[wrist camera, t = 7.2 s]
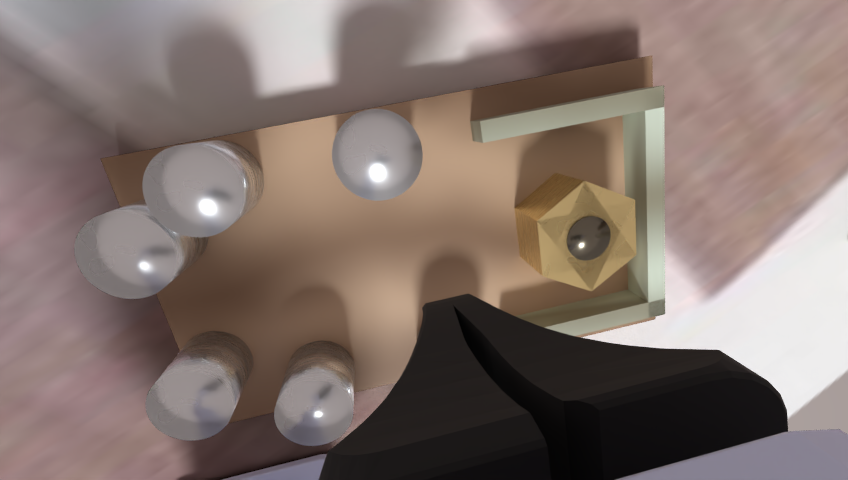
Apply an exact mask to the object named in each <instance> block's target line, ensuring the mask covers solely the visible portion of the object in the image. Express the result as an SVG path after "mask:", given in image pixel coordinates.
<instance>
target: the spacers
mask: <svg viewBox="0 0 848 480" xmlns="http://www.w3.org/2000/svg"><path fill="white" fill-rule="evenodd" d="M422 160H423V152H422V145H421V141H420V139H419V136H418V134H417V133H416V131H415V129H414V128H413V126H412V125H411V124H410V123H409V122H408V121H407V120H406V119H404V118H403V117H402V116H400V115H398V114H396V113H394V112H392V111H388V110H384V109H368V110H364V111H361V112H359V113H356V114H355V115H353V116H351V117H350V118H349V119H348V120H346V121H345V122H344V123H343V125H342V126H341V127H340V129H339V130H338V132H337V134H336V136H335V139H334V142H333V146H332V161H333V166H334V169H335V172H336V174H337V176H338V178H339V179H340V181H341V182H342V183H343V185H344V186H345V187H346V188H347V189H348V190H350V191H351V192H352V193H354V194H355V195H357V196H359V197H362V198H364V199H368V200H375V201H382V200H388V199H392V198H395V197H397V196H399V195H401V194H402V193H404V192H405V191H406V190H408V189H409V188H410V187H411V186H412V184H413V183H414V182H415V180H416V179H417V177H418V175H419V172H420V170H421V166H422ZM142 187H143V195H144V199H143V200H140V201H137V202H134V203H132V204H129V205H126V206H123V207H120V208H118V209H115V210H112V211H109V212H106V213H104V214H101V215H99V216H96V217H94V218H93V219H91V220H89V221H88V222H87V223H86V224H85V225H84V226H83V227H82V228H81V230H80V231H79V233H78V235H77V237H76V241H75V248H74V251H75V258H76V262H77V264H78V267H79V269H80V271H81V272H82V274H83V275H84V276H85V278H86V279H87V280H88V281H89V282H90V283H91V284H92V285H94V286H95V287H96V288H98V289H99V290H101V291H103V292H105V293H107V294H109V295H112V296H115V297H119V298H124V299H140V298H145V297H149V296H151V295H154V294H156V293H158V292H159V291H161V290H162V289H163V288H164V287H166V286H167V285H168V284H169V283H170V282H172V281H173V280H174V279H175V278H176V277H178V276H179V275H180V274H181V273H182V272H184V271H185V270H186V269H187V268H188V267H189V266H191V265H192V264H193V263H194V262H195V261H197V260H198V259H199V258H200V257H201V256H202V254H203V253H204V251H205V249H206V247H207V244H208V237H209V236H213V235H216V234H218V233H221V232H223V231H224V230H226V229H227V228H228V227H230V226H231V225H232V224H234V223H235V222H236V221H237V220H239V219H240V218H241V217H242V216H244V215H245V214H246V213H247V212H249V211H250V210H251V209H252V208H254V207H255V206H256V204H257V203H258V202H259V200H260V198H261V196H262V194H263V190H264V176H263V172H262V169H261V166H260V165H259V163H258V161H257V160H256V158H255V157H254V156H253V155H252V154H251V153H250V152H249V151H248V150H247V149H245V148H244V147H242V146H240V145H238V144H236V143H233V142H230V141H224V140H213V141H206V142H198V143H191V144H183V145H176V146H172V147H169V148H167V149H165V150H163V151H161V152H160V153H158V154H157V155H156V156H155V157H154V158H153V159H152V160H151V161H150V163H149V164H148V166H147V168H146V170H145V172H144V176H143V183H142ZM419 332H420V330H419ZM419 332H418V335H417V339H418V336H419ZM252 368H253V356H252V353H251V351H250V349H249V347H248V346H247V345H246V344H245V343H244V342H243V341H242V340H241V339H240V338H238V337H237V336H235V335H232V334H230V333H227V332H222V331H209V332H204V333H201V334H198V335H196V336H195V337H193V338H192V339H190V340H189V341H188V342H187V343H186V345H185V346H184V347H183V348H182V350H181V351H180V352H179V353H178V355H177V356H176V357H175V358H174V360H173V361H172V362H171V363H170V365H169V366H168V367H167V368H166V370H165V371H164V372H163V374H162V375H161V376H160V377H159V379H158V380H157V381H156V382H155V384H154V385H153V386H152V388H151V389H150V390H149V392H148V394H147V398H146V412H147V415H148V417H149V419H150V421H151V422H152V424H153V425H154V426H155V427H156V428H157V429H158V430H160V431H161V432H162V433H164V434H166V435H168V436H170V437H173V438H176V439H180V440H188V441H194V440H201V439H206V438H209V437H211V436H213V435H215V434H217V433H219V432H220V431H221V430H222V429H223V428H224V427H225V426H226V425H227V424H228V422H229V421H230V419H231V417H232V414H233V412H234V410H235V408H236V405H237V403H238V401H239V399H240V396H241V394H242V392H243V390H244V387H245V385H246V383H247V381H248V378H249V376H250V374H251V371H252ZM354 376H355V365H354V361H353V358H352V356H351V355H350V353H349V352H348V351H347V350H346V349H345V348H344V347H342V346H341V345H339V344H337V343H334V342H330V341H314V342H310V343H307V344H305V345H303V346H302V347H300V348H299V349H298V350H297V351H295V353H294V354H293V355H292V357H291V358H290V361H289V364H288V367H287V370H286V373H285V377H284V380H283V383H282V386H281V390H280V393H279V396H278V399H277V403H276V406H275V410H274V419H275V423H276V426H277V428H278V429H279V431H280V432H281V433H282V434H283V435H284V436H285V437H286V438H287V439H289V440H290V441H292V442H294V443H297V444H301V445H306V446H319V445H324V444H327V443H330V442H332V441H334V440H336V439H338V438H339V437H340V436H342V435H343V434H344V433H345V432H346V430H347V429H348V428H349V426H350V424H351V422H352V418H353V405H354Z"/></svg>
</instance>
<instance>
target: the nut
mask: <svg viewBox="0 0 848 480" xmlns="http://www.w3.org/2000/svg"><path fill="white" fill-rule="evenodd" d="M514 210H515V219H516V227H517V236H518V244H519V253H520V257H521V258H522V259H523V260H524V261H526V262H527V263H528V264H529V265H530V266H531V267H532V268H534V269H535V270H536V271H537V272H538V273H539V274H541V275H542V276H543V277H546V278H550V279H553V280H556V281H559V282H563V283H566V284H569V285H572V286H576V287H579V288H582V289H585V290H589V291H593V290H594V289H595V288H596V287H598V286H599V285H600V284H601V283H603V282H604V281H605V280H606V279H607V278H609V277H610V276H611V275H612V274H614V273H615V272H616V271H617V270H618V269H620V268H621V267H622V266H623V265H625V264H626V263H627V262H628V261H630V260H631V259H632V258H633V257H634V256H636V217H635V200H634V199H632V198H629V197H626V196H624V195H621V194H618V193H616V192H613V191H610V190H608V189H605V188H603V187H600V186H597V185H595V184H592V183H589V182H587V181H584V180H580V179H576V178H573V177H569V176H565V175H562V174H558V173H555V174H553V175H552V176H551V177H550V178H549V179H547V180H546V181H545V182H544V183H543V184H542V185H540V186H539V187H538V188H537V189H536V190H535V191H533V192H532V193H531V194H530V195H529V196H527V197H526V198H525V199H524V200H523V201H522V202H520V203H519V204H518V205H517V206H516V207H515V208H514Z"/></svg>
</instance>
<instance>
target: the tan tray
mask: <svg viewBox="0 0 848 480" xmlns="http://www.w3.org/2000/svg"><path fill="white" fill-rule="evenodd" d="M369 109H384V110H388V111H392V112H394V113H396V114H398V115H400V116H402V117H403V118H404V119H406V120H407V121H408V122H409V123H410V124H411V125H412V126H413V128H414V129H415V131H416V133H417V134H418V136H419V139H420V141H421V145H422V152H423V160H422V166H421V170H420V172H419V175H418V177H417V179H416V180H415V182H414V183H413V184H412V186H411V187H410V188H409V189H408V190H406V191H405V192H404V193H402V194H401V195H399V196H397V197H395V198H392V199H388V200H382V201H375V200H368V199H364V198H362V197H359V196H357V195H355V194H354V193H352V192H351V191H350V190H348V189H347V188H346V187H345V186H344V185H343V183H342V182H341V181H340V179H339V178H338V176H337V174H336V172H335V169H334V166H333V161H332V146H333V142H334V139H335V136H336V134H337V132H338V130H339V129H340V127H341V126H342V125H343V123H344V122H345V121H346V120H348V119H349V118H350V117H351V116H353V115H355V114H356V113H359V112H361V111H364V110H368V109H363V110H358V111H353V112H347V113H342V114H337V115H331V116H326V117H320V118H315V119H310V120H304V121H299V122H294V123H288V124H283V125H278V126H272V127H267V128H262V129H256V130H251V131H246V132H240V133H235V134H230V135H224V136H219V137H213V138H208V139H203V140H197V141H192V142H187V143H181V144H176V145H183V144H191V143H198V142H206V141H213V140H224V141H230V142H233V143H236V144H238V145H240V146H242V147H244V148H245V149H247V150H248V151H249V152H250V153H251V154H252V155H253V156H254V157H255V158H256V160H257V161H258V163H259V165H260V166H261V169H262V172H263V176H264V190H263V194H262V196H261V198H260V200H259V202H258V203H257V204H256V206H255V207H254V208H252V209H251V210H250V211H249V212H247V213H246V214H245V215H244V216H242V217H241V218H240V219H239V220H237V221H236V222H235V223H234V224H232V225H231V226H230V227H228V228H227V229H226V230H224V231H223V232H221V233H218V234H216V235H213V236H209V237H208V244H207V247H206V249H205V251H204V253H203V254H202V256H201V257H200V258H199V259H198V260H197V261H195V262H194V263H193V264H192V265H191V266H189V267H188V268H187V269H186V270H185V271H184V272H182V273H181V274H180V275H179V276H178V277H176V278H175V279H174V280H173V281H172V282H170V283H169V284H168V285H167V286H166V287H164V288H163V289H162V290H161V291H159V292H158V293H156V295H157V297H158V300H159V302H160V304H161V307H162V309H163V312H164V314H165V316H166V319H167V321H168V324H169V326H170V329H171V331H172V333H173V336H174V338H175V341H176V343H177V346H178V348H179V350H180V351H181V350H182V348H183V347H184V346H185V345H186V343H187V342H188V341H189V340H190V339H192V338H193V337H195V336H196V335H198V334H201V333H204V332H209V331H222V332H227V333H230V334H232V335H235V336H237V337H238V338H240V339H241V340H242V341H243V342H244V343H245V344H246V345H247V346H248V347H249V349H250V351H251V353H252V356H253V368H252V371H251V374H250V376H249V378H248V381H247V383H246V385H245V387H244V390H243V392H242V394H241V396H240V399H239V401H238V403H237V405H236V408H235V410H234V412H233V414H232V417H231V419H230V421H229V422H228V423H232V422H236V421H240V420H244V419H248V418H252V417H257V416H261V415H265V414H269V413H273V412H274V410H275V406H276V403H277V399H278V396H279V393H280V390H281V386H282V383H283V380H284V377H285V373H286V370H287V367H288V364H289V361H290V358H291V357H292V355H293V354H294V353H295V351H297V350H298V349H299V348H300V347H302V346H303V345H305V344H307V343H310V342H314V341H330V342H334V343H337V344H339V345H341V346H342V347H344V348H345V349H346V350H347V351H348V352H349V353H350V355H351V356H352V358H353V361H354V365H355V376H354V393H355V392H359V391H363V390H367V389H371V388H375V387H379V386H384V385H388V384H392V383H396V382H397V381H398V380H399V378H400V376H401V375H402V373H403V371H404V369H405V368H406V366H407V364H408V361H409V359H410V357H411V355H412V352H413V350H414V347H415V345H416V342H417V335H418V332H419V330H420V328H421V324H422V319H423V310H422V307H423V306H424V305H425V303H429V302H433V301H438V300H442V299H446V298H450V297H455V296H459V295H463V294H471V295H473V296H475V297H477V298H479V299H481V300H483V301H485V302H487V303H489V304H491V305H492V306H494V307H496V308H498V309H501V310H503V311H505V312H507V313H509V314H511V315H513V316H516V317H518V318H520V319H523V320H525V321H528V322H531V323H533V324H536V325H538V326H541V327H544V328H547V329H550V330H554V331H558V332H561V333H565V334H568V335H572V336H576V337H584V336H588V335H592V334H596V333H601V332H605V331H609V330H613V329H617V328H621V327H625V326H629V325H633V324H637V323H642V322H646V321H650V320H654V319H655V316H659V315H663V314H665V191H664V86H656V87H653V75H652V56H647V57H642V58H636V59H631V60H625V61H620V62H615V63H609V64H604V65H599V66H593V67H588V68H583V69H577V70H572V71H567V72H561V73H556V74H551V75H545V76H540V77H535V78H529V79H524V80H518V81H513V82H508V83H502V84H497V85H492V86H486V87H481V88H476V89H470V90H465V91H460V92H454V93H449V94H444V95H438V96H433V97H427V98H422V99H417V100H411V101H406V102H401V103H395V104H390V105H385V106H379V107H374V108H369ZM176 145H171V146H165V147H160V148H155V149H149V150H144V151H139V152H133V153H128V154H123V155H117V156H112V157H106V158H101V162H102V164H103V166H104V169H105V171H106V174H107V176H108V178H109V181H110V183H111V186H112V188H113V191H114V193H115V195H116V198H117V200H118V203H119V205H120V207H123V206H126V205H129V204H132V203H134V202H137V201H140V200H143V199H144V195H143V187H142V183H143V176H144V172H145V170H146V168H147V166H148V164H149V163H150V161H151V160H152V159H153V158H154V157H155V156H156V155H157V154H158V153H160V152H161V151H163V150H165V149H167V148H169V147H172V146H176ZM555 173H558V174H562V175H565V176H569V177H573V178H576V179H580V180H584V181H587V182H589V183H592V184H595V185H597V186H600V187H603V188H605V189H608V190H610V191H613V192H616V193H618V194H621V195H624V196H626V197H629V198H632V199H634V200H635V217H636V256H634V257H633V258H632V259H631V260H630V261H628V262H627V263H626V264H625V265H623V266H622V267H621V268H620V269H618V270H617V271H616V272H615V273H614V274H612V275H611V276H610V277H609V278H607V279H606V280H605V281H604V282H603V283H601V284H600V285H599V286H598V287H596V288H595V289H594V290H593V291H589V290H585V289H582V288H579V287H576V286H572V285H569V284H566V283H563V282H559V281H556V280H553V279H550V278H546V277H543V276H542V275H541V274H539V273H538V272H537V271H536V270H535V269H534V268H532V267H531V266H530V265H529V264H528V263H527V262H526V261H524V260H523V259H522V258H521V257H520V253H519V244H518V236H517V227H516V219H515V210H514V208H515V207H516V206H517V205H518V204H519V203H520V202H522V201H523V200H524V199H525V198H526V197H527V196H529V195H530V194H531V193H532V192H533V191H535V190H536V189H537V188H538V187H539V186H540V185H542V184H543V183H544V182H545V181H546V180H547V179H549V178H550V177H551V176H552V175H553V174H555Z"/></svg>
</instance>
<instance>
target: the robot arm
mask: <svg viewBox="0 0 848 480" xmlns="http://www.w3.org/2000/svg"><path fill="white" fill-rule="evenodd" d="M422 310H423V319H422V324H421V328H420V332H419V336H418V339H417V342H416V345H415V347H414V350H413V352H412V355H411V357H410V359H409V361H408V364H407V366H406V368H405V369H404V371H403V373H402V375H401V376H400V378H399V380H398V381H397V383H396V384H395V386H394V387H393V389H392V390H391V392H390V393H389V395H388V396H387V397H386V399H385V400H384V401H383V402H382V403H381V404H380V405H379V407H378V408H377V409H376V410H375V411H374V412H373V413H372V414H371V415H370V416H369V417H368V418H367V419H366V420H365V421H364V422H363V423H362V424H361V425H360V426H359V427H357V428H356V429H355V430H354V431H353V432H351V433H350V434H349V435H348V436H347V437H345V438H344V439H343V440H342V441H341V442H339V443H338V444H337V445H336V446H334V447H333V448H332V449H330V450H329V451H328V453H327V454H320V455H316V456H312V457H308V458H304V459H300V460H296V461H292V462H289V463H285V464H281V465H277V466H273V467H269V468H265V469H261V470H257V471H253V472H249V473H245V474H241V475H238V476H234V477H230V478H226V479H222V480H848V435H847V434H846V433H845V432H843V431H841V430H840V429H830V430H806V431H790V432H788V424H787V410H786V407H785V405H784V402H783V400H782V397H781V395H780V393H779V392H778V391H777V390H776V389H775V388H774V387H773V386H772V385H771V384H770V383H769V382H768V381H767V380H765V379H764V378H762V377H761V376H759V375H757V374H756V373H754V372H753V371H751V370H750V369H748V368H746V367H745V366H743V365H742V364H740V363H739V362H737V361H735V360H734V359H732V358H731V357H729V356H728V355H726V354H724V353H723V352H721V351H720V350H696V349H660V348H649V347H638V346H628V345H620V344H613V343H607V342H601V341H596V340H590V339H585V338H581V337H576V336H572V335H568V334H565V333H561V332H558V331H554V330H550V329H547V328H544V327H541V326H538V325H536V324H533V323H531V322H528V321H525V320H523V319H520V318H518V317H516V316H513V315H511V314H509V313H507V312H505V311H503V310H501V309H498V308H496V307H494V306H492V305H491V304H489V303H487V302H485V301H483V300H481V299H479V298H477V297H475V296H473V295H471V294H463V295H459V296H455V297H450V298H446V299H442V300H438V301H433V302H429V303H425V305H424V306H423V307H422Z"/></svg>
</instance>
